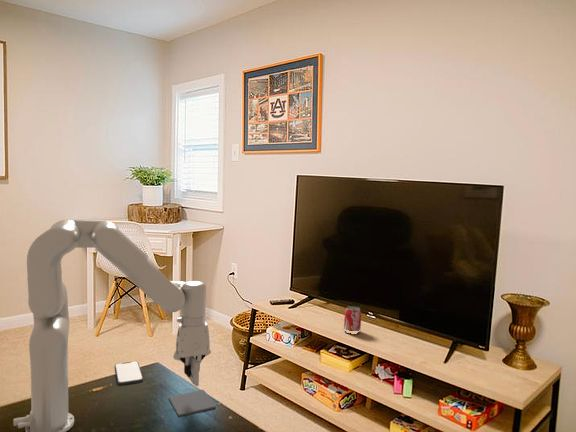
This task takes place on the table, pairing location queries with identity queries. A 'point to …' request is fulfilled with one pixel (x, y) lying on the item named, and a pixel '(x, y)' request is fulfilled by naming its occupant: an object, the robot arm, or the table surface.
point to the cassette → (194, 371)
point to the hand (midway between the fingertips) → (191, 374)
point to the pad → (191, 402)
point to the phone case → (128, 373)
